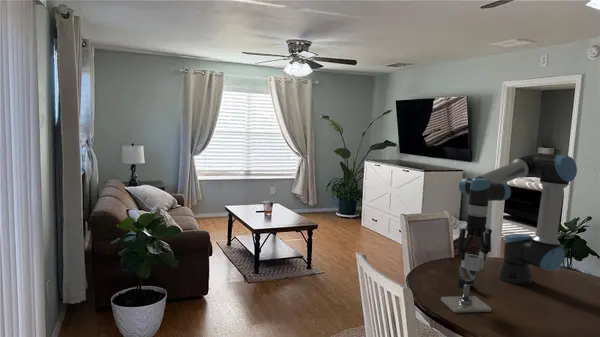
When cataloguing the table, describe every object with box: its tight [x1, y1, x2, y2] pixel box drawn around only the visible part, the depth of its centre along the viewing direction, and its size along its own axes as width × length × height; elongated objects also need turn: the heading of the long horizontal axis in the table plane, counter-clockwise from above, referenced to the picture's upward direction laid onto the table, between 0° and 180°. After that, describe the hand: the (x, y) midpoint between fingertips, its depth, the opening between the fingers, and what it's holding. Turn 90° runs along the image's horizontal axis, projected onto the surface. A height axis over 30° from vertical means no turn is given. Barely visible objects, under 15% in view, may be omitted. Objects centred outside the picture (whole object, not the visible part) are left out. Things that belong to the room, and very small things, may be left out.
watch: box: [457, 265, 477, 289], centre depth 197 cm, size 6×8×11 cm
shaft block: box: [440, 284, 492, 314], centre depth 176 cm, size 16×12×9 cm
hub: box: [464, 253, 483, 272], centre depth 177 cm, size 7×7×5 cm
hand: (471, 267), depth 177 cm, fingers closed on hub, 7 cm apart
